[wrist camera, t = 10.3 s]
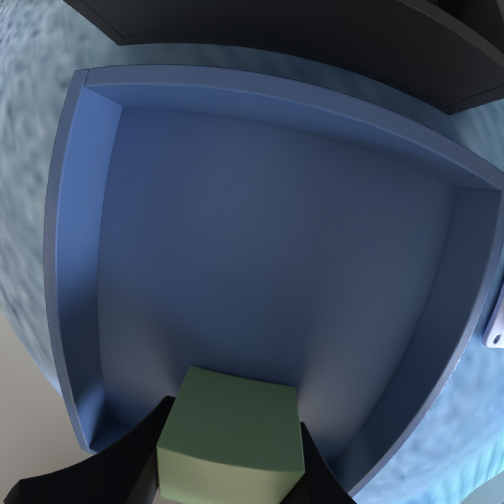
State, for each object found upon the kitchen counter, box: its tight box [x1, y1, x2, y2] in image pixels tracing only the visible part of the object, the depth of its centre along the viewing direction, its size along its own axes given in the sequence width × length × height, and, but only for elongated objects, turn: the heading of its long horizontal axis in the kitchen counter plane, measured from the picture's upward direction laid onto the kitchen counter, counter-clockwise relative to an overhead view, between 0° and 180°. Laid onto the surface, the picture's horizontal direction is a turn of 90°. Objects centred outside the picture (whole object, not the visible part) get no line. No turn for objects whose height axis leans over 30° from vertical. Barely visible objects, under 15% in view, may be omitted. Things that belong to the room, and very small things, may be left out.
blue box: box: [43, 64, 504, 498], centre depth 8 cm, size 13×15×3 cm
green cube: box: [156, 366, 305, 504], centre depth 8 cm, size 4×4×4 cm
